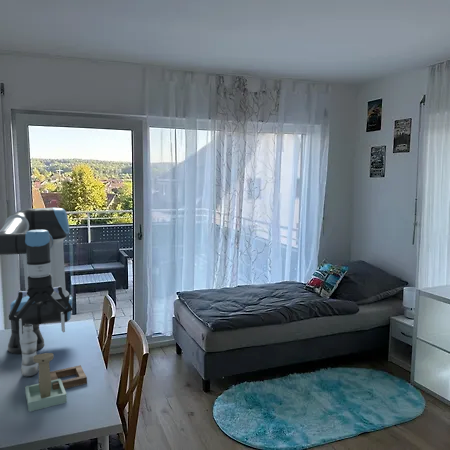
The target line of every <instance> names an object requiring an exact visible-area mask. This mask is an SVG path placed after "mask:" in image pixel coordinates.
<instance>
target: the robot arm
mask: <svg viewBox="0 0 450 450" xmlns="http://www.w3.org/2000/svg"><path fill="white" fill-rule="evenodd" d="M69 233H70V224H69V218H68V214H67V212H66V210H65V208H61V207H38V208H31V207H29V208H25V209H22V210H18V211H15V212H14V213H12V214H10V215H9V216H7V218H6V219H5V221H4V225H3V226H2V228H1V229H0V256H8V255H9V256H11V255H26V271H27V272H26V273H27V290H23V291H22V290H18V292H17V298H16V299H14V300H13V301H11V302H10V305H9V314H8V320H9V321H10V328H11V329H10V330H11V331H10V332H11V334H10V337H9V340H8V345H7V350H8V351H7V352H8V353H11V354H15V355H22V350H21V345H20V340H22V339H23V338H22V334H23V326H24V325H28V324H32V325H33V332H34V333H35V334H36V335H37V350H36V351H38V350H40V349H42V348H44V346H45V339H44V336H43V334H42V331H41V329H40V325H46V324H47V325H49V324H58V323H59V324H60V325H61V326H60V327H61V331H62V333H65V332H66V327H65V326H66V325H65V323H67V322H69V321H70V320H71V319H72V318H71V317H72V311H73V310H74V309H73V296H70V292H69V291H68V290H67V289H66V273H65V271H66V270H65V253H64V240H65V239H67V234H69Z"/></svg>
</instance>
